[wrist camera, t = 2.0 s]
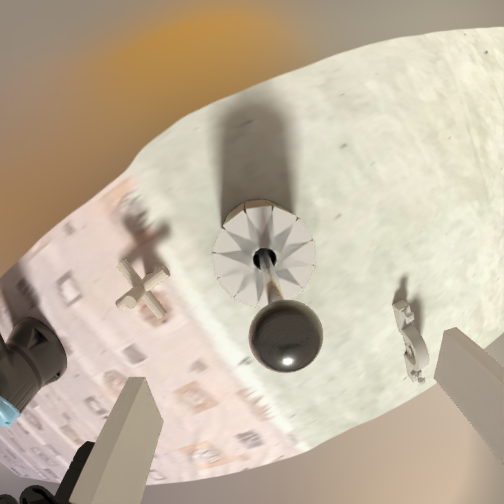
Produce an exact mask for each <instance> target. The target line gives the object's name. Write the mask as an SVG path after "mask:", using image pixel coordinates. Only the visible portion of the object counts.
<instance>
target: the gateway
mask: <svg viewBox="0 0 504 504" xmlns="http://www.w3.org/2000/svg"><path fill="white" fill-rule="evenodd" d="M392 306H393V310H394V314H395V318H396V322H397V326H398V330H399V332H400V333H401V334H402V335H403V339H404V342H405V346H406V351H407V354H405V355H404V357H405V362H406V367H407V373H408V376H409V377H410V378H411V380H412V381H413V382H414V381H416V380H417V379H418V387H419V386H421V385H423V384H424V383H425V377H424V378H422V372H421V370H420V369H422V368H424V367H425V366H427V365H428V364H429V354H428V350H427V347H426V344H425V342H424V340H423V338H422V336H421V334H420V333H419V331H418V330H417V329H416V328H415V327H414V326H413V325H412V324H411V321H413V320H414V319H415V318H414V313H413V312H411V310H410V306H409V304H408V303H407V302H406V301H404V300H403V299H401V300H399V301H397V302H396V303H394V304H392ZM410 345H411V348H412V351H411V348H410V347H409V346H410Z"/></svg>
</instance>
